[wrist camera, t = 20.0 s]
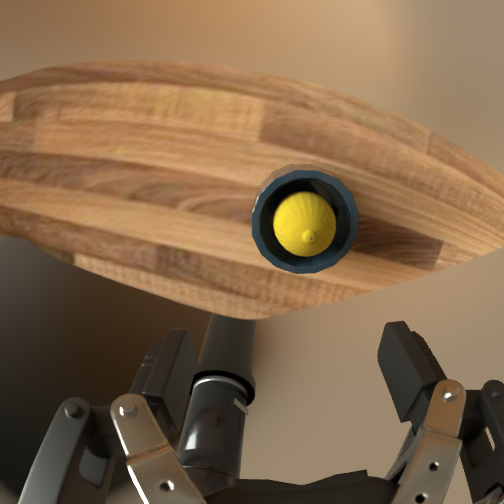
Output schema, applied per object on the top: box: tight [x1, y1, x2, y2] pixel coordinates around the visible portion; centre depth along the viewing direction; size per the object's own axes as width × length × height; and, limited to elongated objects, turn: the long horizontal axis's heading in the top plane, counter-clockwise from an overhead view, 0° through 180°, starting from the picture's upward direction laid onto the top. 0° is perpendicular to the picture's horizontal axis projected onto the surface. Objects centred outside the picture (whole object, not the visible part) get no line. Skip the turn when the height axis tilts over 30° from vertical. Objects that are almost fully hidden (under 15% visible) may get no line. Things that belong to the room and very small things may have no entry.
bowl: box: [251, 164, 359, 274], centre depth 27 cm, size 9×9×6 cm
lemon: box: [273, 191, 336, 257], centre depth 25 cm, size 6×6×8 cm
